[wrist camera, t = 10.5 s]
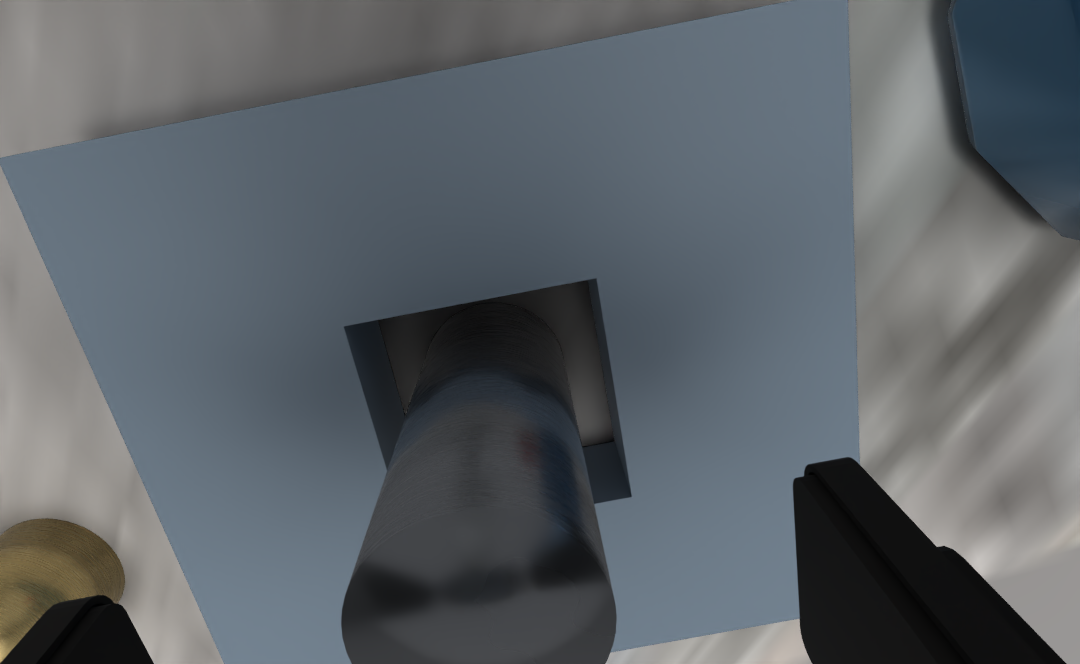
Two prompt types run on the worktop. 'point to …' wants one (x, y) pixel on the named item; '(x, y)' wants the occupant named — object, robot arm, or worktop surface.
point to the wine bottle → (1024, 97)
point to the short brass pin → (50, 573)
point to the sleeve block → (472, 275)
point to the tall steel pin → (484, 513)
